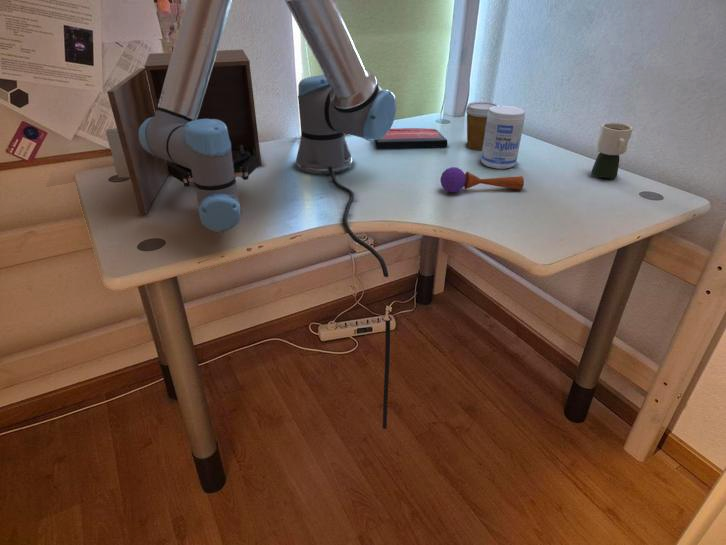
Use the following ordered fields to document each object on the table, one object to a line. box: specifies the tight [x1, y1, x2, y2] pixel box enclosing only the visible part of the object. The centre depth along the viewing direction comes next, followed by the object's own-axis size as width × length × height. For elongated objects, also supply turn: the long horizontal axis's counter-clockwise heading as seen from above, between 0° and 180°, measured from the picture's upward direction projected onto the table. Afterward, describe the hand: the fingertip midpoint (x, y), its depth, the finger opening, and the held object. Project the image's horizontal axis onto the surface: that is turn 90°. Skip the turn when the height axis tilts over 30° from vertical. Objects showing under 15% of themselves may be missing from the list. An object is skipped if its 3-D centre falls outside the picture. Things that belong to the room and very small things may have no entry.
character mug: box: [590, 122, 633, 179], centre depth 125 cm, size 11×7×13 cm, turn 179°
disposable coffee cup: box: [465, 101, 498, 150], centre depth 146 cm, size 10×10×12 cm
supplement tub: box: [480, 105, 526, 170], centre depth 132 cm, size 10×10×15 cm
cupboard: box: [104, 49, 262, 215], centre depth 121 cm, size 41×32×27 cm
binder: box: [374, 127, 448, 150], centre depth 153 cm, size 16×2×21 cm
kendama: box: [439, 166, 525, 193], centre depth 119 cm, size 6×6×20 cm
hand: (213, 153), depth 119 cm, fingers open, 13 cm apart
